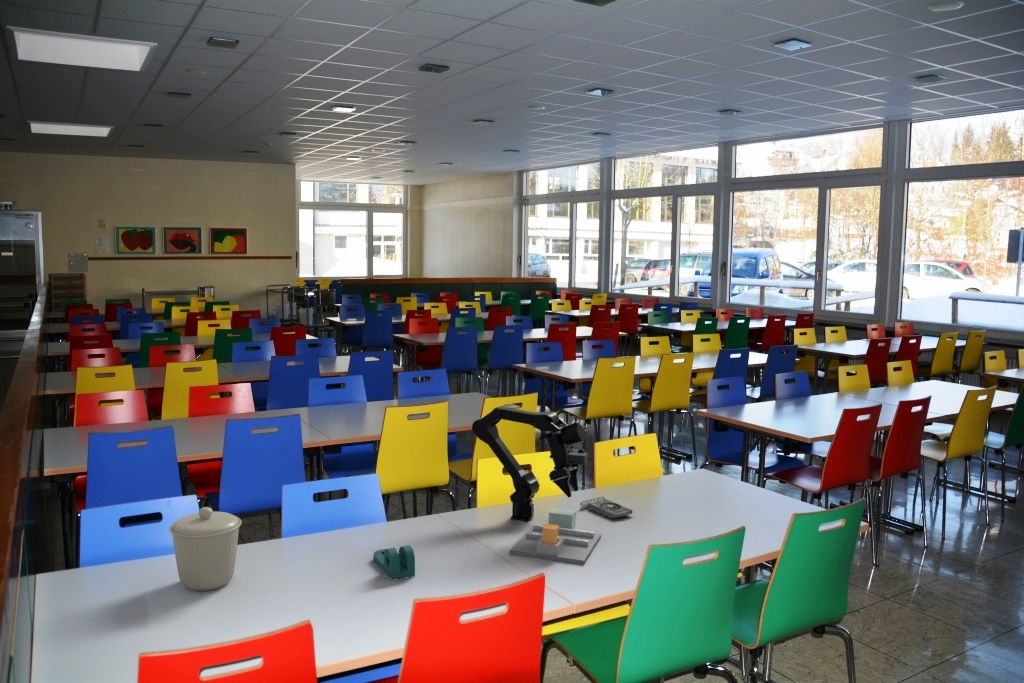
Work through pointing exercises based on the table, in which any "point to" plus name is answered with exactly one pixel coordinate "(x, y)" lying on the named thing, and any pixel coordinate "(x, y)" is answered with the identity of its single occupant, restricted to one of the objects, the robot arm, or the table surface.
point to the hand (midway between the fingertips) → (573, 493)
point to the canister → (205, 548)
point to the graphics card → (606, 507)
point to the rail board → (557, 545)
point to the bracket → (396, 562)
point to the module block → (562, 518)
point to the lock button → (550, 534)
